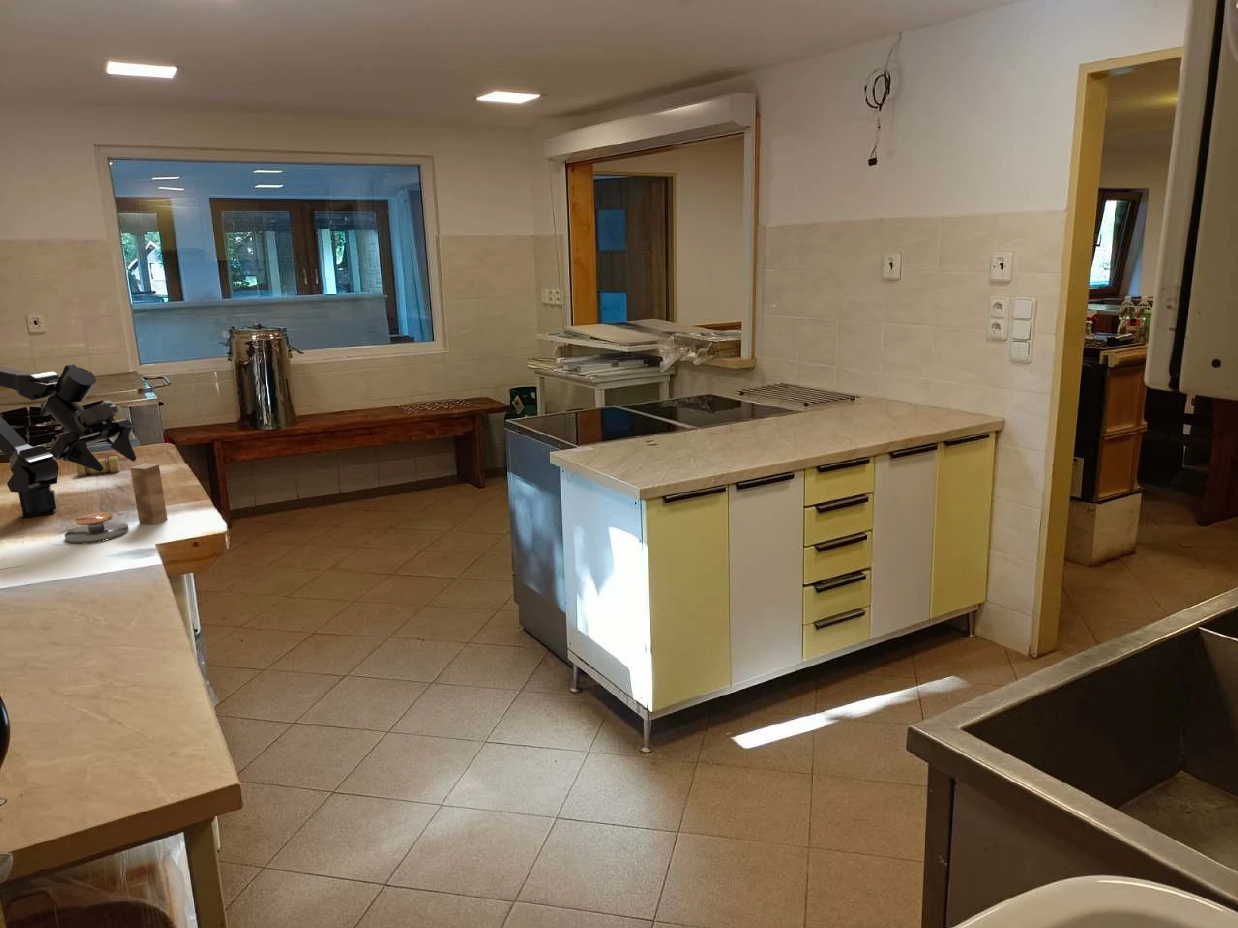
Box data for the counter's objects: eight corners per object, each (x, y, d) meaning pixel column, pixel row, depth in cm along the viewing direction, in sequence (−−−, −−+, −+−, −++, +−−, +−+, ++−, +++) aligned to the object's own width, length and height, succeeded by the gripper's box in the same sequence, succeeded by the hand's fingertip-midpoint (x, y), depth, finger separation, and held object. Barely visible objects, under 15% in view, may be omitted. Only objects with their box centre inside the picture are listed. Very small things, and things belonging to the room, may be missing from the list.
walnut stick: (139, 523, 200) (130, 467, 197) (153, 518, 204) (144, 463, 200) (154, 524, 199) (144, 468, 195) (167, 519, 202) (158, 464, 199)
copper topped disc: (63, 547, 185) (59, 529, 184) (67, 531, 195) (64, 514, 194) (128, 537, 190) (125, 519, 189) (128, 522, 201) (126, 505, 200)
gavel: (86, 451, 261) (125, 447, 265) (89, 466, 262) (127, 462, 266) (74, 461, 242) (116, 457, 246) (77, 478, 243) (118, 473, 247)
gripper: (50, 399, 188) (101, 451, 188) (120, 384, 206) (166, 432, 206) (29, 434, 193) (78, 485, 192) (99, 417, 210) (144, 464, 210)
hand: (119, 465), depth 200 cm, fingers open, 9 cm apart
